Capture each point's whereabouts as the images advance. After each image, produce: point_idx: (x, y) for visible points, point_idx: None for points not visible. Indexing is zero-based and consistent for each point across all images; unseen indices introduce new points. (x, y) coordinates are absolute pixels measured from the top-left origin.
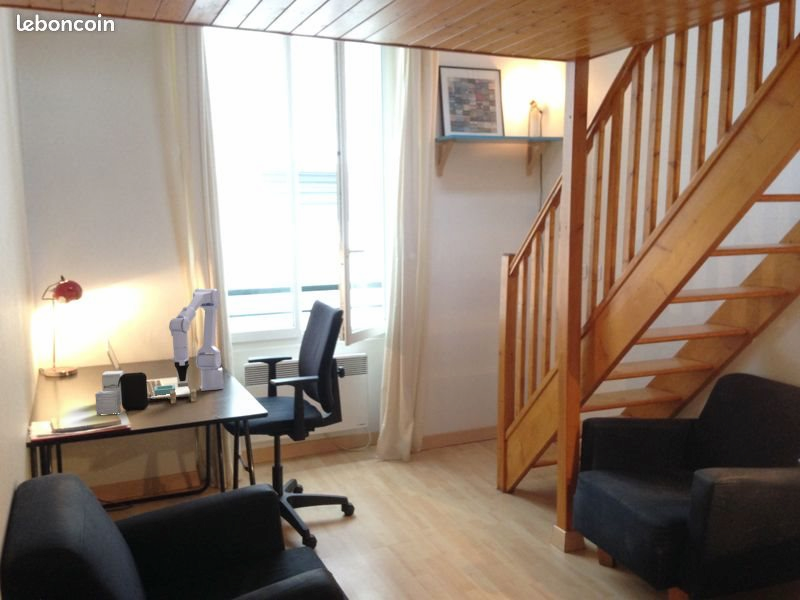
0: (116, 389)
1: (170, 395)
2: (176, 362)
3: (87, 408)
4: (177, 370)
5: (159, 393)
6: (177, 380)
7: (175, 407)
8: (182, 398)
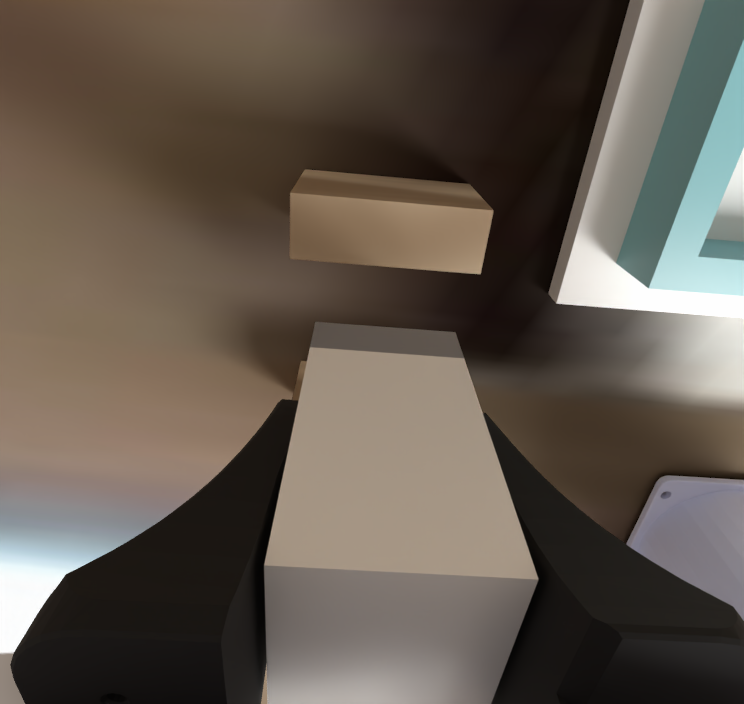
0: None
1: (397, 192)
2: (666, 682)
3: None
4: (160, 524)
5: (701, 67)
6: (320, 373)
7: (96, 192)
8: (484, 305)
